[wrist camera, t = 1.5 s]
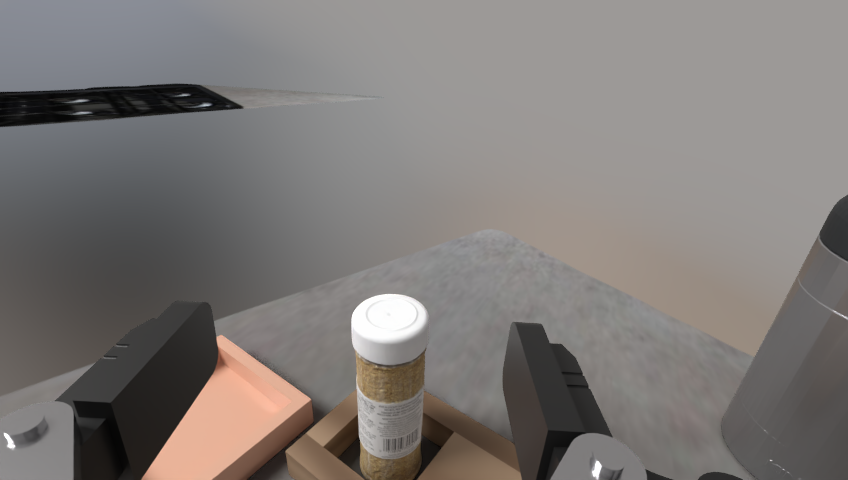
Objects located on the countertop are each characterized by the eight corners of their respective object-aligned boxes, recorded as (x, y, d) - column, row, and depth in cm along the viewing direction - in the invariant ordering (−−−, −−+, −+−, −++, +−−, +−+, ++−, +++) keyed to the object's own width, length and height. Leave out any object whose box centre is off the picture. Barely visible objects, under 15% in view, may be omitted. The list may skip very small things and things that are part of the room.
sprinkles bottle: (417, 432, 33) (425, 289, 27) (425, 490, 29) (435, 337, 23) (358, 437, 33) (351, 292, 27) (357, 496, 29) (349, 341, 23)
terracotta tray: (226, 355, 40) (221, 334, 39) (313, 421, 34) (311, 399, 33) (74, 447, 31) (62, 423, 30) (156, 558, 25) (144, 533, 24)
